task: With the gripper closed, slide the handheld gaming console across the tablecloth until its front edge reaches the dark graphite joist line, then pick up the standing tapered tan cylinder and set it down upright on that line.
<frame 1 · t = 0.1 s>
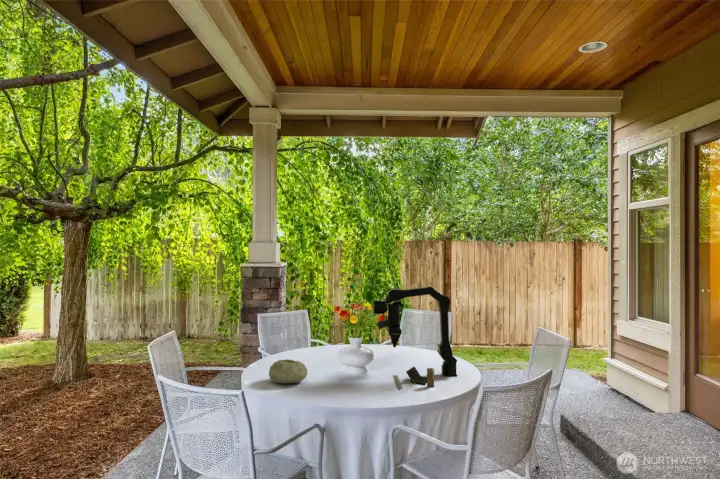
hand: (393, 345, 227), 15 cm above the table, tool pointing down, fingers open, 9 cm apart
olive green stone: (288, 382, 213), on the table
joist line: (397, 382, 214), on the table
handheld gaming console: (418, 381, 216), on the table
tapered tan cylinder: (430, 386, 207), on the table
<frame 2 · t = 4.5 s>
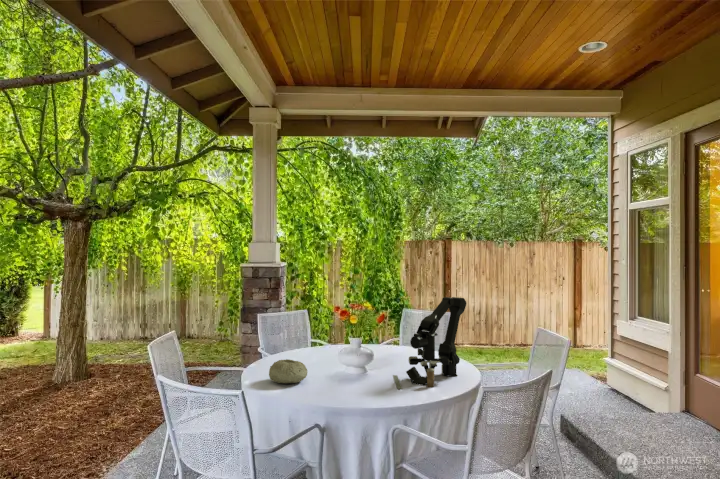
hand: (428, 378, 216), 1 cm above the table, tool pointing down, fingers closed
nothing on the table moved.
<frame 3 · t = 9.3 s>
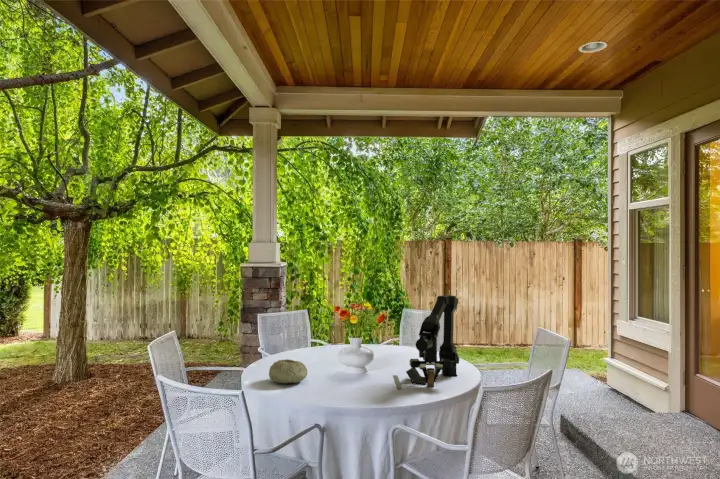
hand: (430, 382, 207), 2 cm above the table, tool pointing down, fingers closed on tapered tan cylinder, 3 cm apart
tapered tan cylinder: (430, 386, 207), on the table, touching gripper
everything else where it was.
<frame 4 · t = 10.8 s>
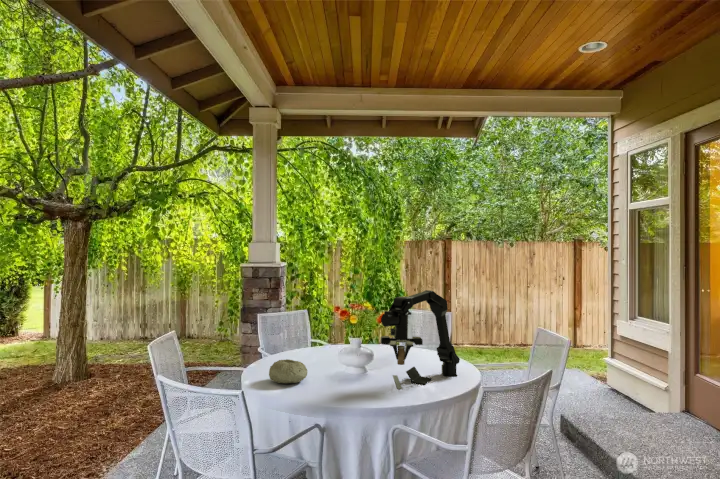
hand: (400, 359, 206), 13 cm above the table, tool pointing down, fingers closed on tapered tan cylinder, 3 cm apart
tapered tan cylinder: (400, 364, 206), point 11 cm above the table, touching gripper
everything else where it was.
when the fingers open (3 cm above the table, at t = 12.7 s): tapered tan cylinder drops 1 cm, resting on joist line.
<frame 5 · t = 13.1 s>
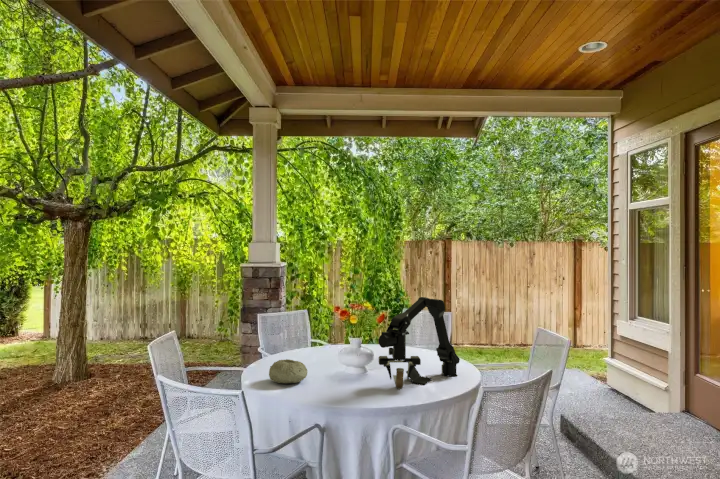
hand: (399, 379, 206), 3 cm above the table, tool pointing down, fingers open, 7 cm apart
tapered tan cylinder: (399, 386, 206), resting on joist line
everything else where it was.
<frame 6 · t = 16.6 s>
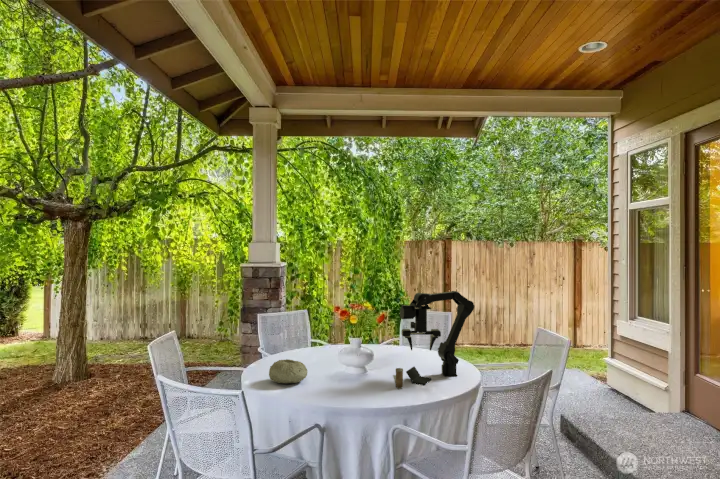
hand: (420, 350, 223), 13 cm above the table, tool pointing down, fingers open, 9 cm apart
nothing on the table moved.
at the end: handheld gaming console inside the target area (3.2 cm from its centre), on the table; tapered tan cylinder 0.1 cm from the target spot, on the table; tapered tan cylinder tilted 0° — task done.
